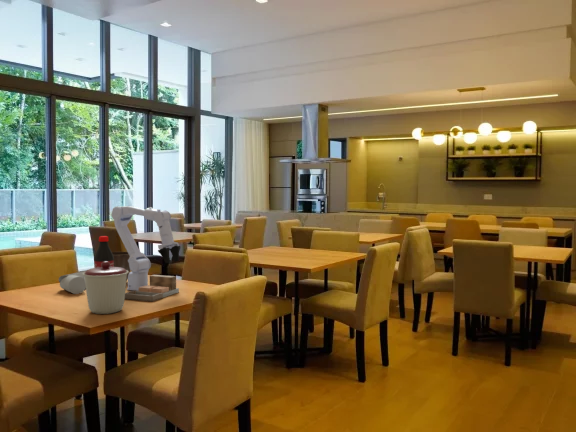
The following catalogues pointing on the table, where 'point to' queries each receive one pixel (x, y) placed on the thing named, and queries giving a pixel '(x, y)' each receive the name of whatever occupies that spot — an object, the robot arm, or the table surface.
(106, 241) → the cola bottle
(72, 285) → the bent grey cylinder
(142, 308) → the table surface
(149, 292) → the slate board
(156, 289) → the tile right
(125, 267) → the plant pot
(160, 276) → the brown wooden block
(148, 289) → the tile left
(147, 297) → the tray
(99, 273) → the canister
